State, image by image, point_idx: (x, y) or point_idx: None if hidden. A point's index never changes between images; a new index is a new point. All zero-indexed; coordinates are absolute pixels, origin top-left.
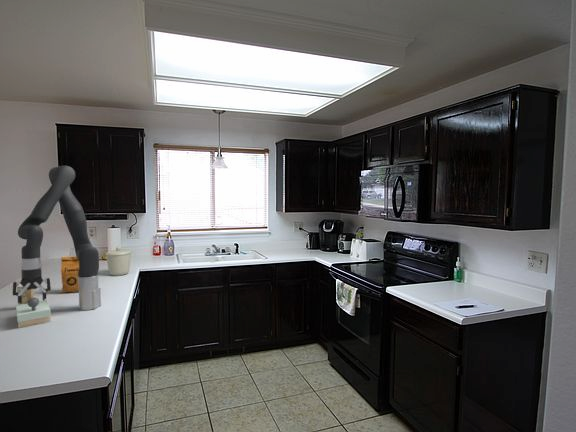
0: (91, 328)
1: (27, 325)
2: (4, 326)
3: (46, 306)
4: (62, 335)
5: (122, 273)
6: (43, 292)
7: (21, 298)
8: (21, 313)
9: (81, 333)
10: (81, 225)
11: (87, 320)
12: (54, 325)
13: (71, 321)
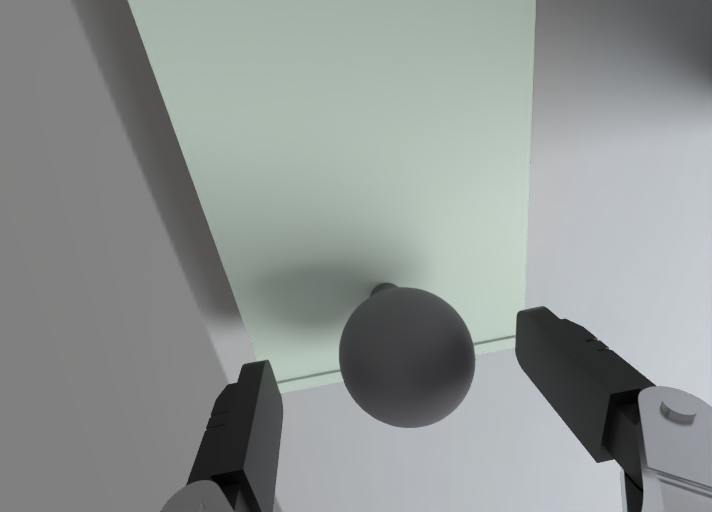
0: None
1: None
2: (165, 228)
3: (502, 209)
4: (502, 492)
5: None
6: (618, 455)
7: (271, 483)
8: (290, 349)
9: (571, 496)
10: None
11: (654, 350)
12: (485, 356)
13: None
